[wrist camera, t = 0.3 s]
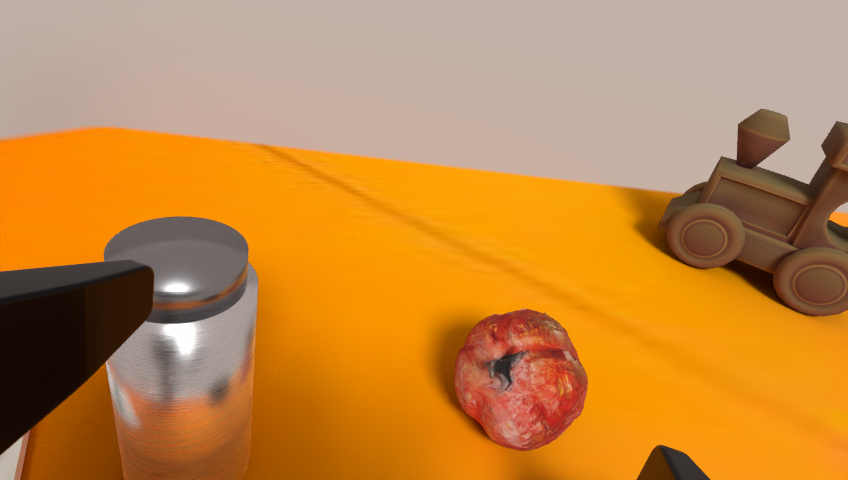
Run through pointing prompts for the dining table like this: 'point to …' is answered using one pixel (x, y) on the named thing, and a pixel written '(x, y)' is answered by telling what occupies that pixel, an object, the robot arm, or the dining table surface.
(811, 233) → the wooden toy train
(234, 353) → the shaker
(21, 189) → the dining table surface
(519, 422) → the pomegranate
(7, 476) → the tray
